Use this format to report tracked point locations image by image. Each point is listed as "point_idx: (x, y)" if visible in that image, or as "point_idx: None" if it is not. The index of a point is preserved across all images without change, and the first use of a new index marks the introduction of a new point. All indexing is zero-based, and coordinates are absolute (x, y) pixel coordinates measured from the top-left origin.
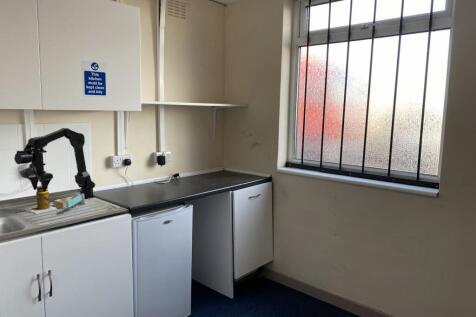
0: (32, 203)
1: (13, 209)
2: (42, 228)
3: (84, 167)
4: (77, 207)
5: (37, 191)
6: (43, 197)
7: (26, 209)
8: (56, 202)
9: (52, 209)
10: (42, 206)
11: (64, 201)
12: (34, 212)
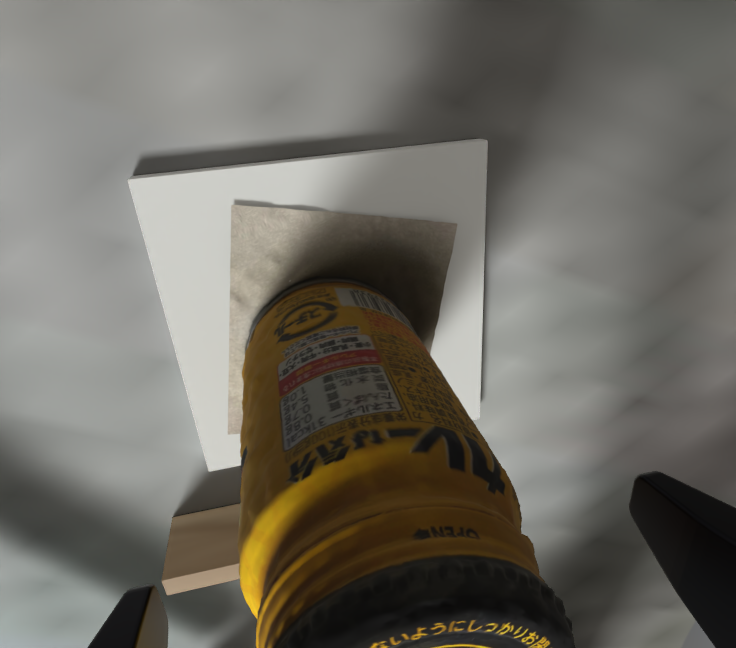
0: (722, 332)
1: (694, 31)
2: None
3: None
4: None
5: (394, 491)
6: (243, 466)
7: (466, 150)
8: None
9: (194, 417)
10: (255, 342)
11: None
12: (181, 173)
